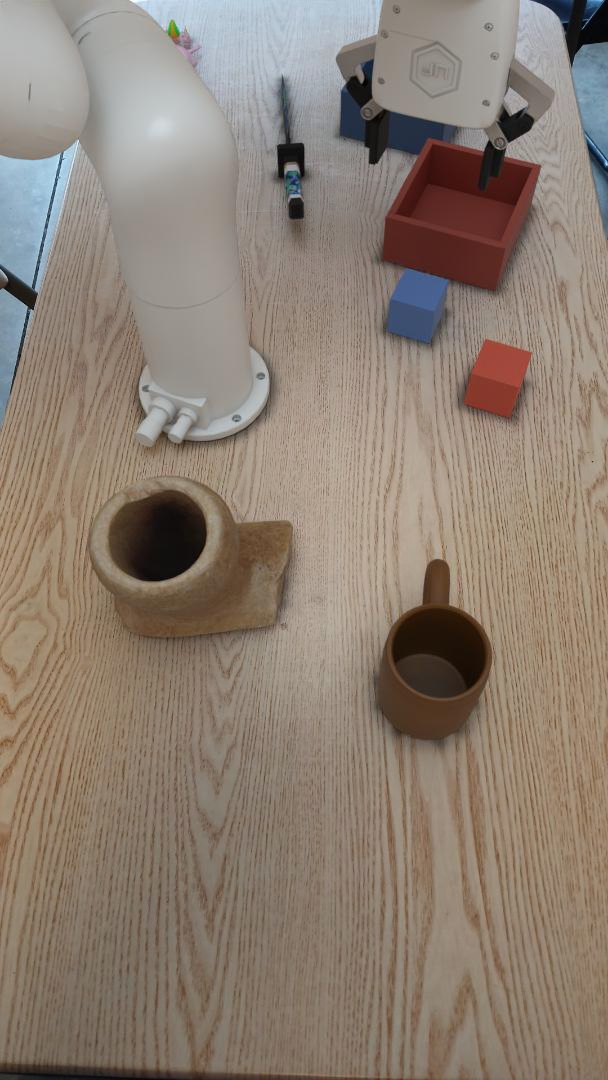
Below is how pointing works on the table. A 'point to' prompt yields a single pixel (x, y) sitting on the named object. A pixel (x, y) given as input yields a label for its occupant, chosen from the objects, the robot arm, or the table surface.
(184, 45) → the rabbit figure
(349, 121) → the blue bin
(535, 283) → the table surface
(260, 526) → the stone cup
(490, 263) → the red bin
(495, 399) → the red block
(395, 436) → the table surface
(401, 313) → the blue block
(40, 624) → the table surface
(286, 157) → the knife
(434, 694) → the mug
